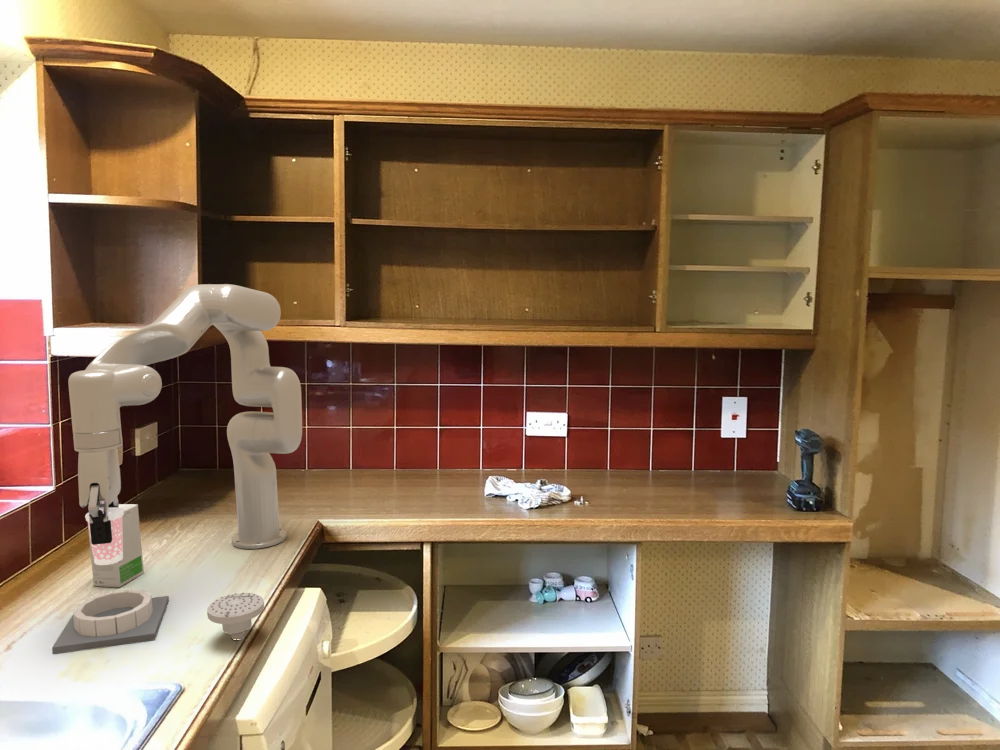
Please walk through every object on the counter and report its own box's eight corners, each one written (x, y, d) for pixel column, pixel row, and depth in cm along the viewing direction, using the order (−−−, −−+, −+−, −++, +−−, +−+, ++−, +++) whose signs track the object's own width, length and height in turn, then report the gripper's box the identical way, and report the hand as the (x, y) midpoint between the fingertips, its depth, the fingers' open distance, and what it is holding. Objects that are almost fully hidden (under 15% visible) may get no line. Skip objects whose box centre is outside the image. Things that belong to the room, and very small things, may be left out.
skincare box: (118, 588, 150) (112, 516, 148) (90, 586, 151) (83, 514, 149) (145, 572, 158) (139, 503, 156) (118, 570, 159) (112, 502, 157)
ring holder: (78, 612, 139) (76, 592, 139) (169, 601, 144) (167, 581, 143) (52, 654, 124) (50, 630, 123) (155, 639, 128) (153, 617, 128)
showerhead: (196, 613, 122) (217, 588, 132) (199, 654, 123) (220, 625, 133) (253, 612, 123) (269, 586, 132) (255, 652, 124) (272, 624, 133)
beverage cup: (95, 555, 134) (88, 482, 132) (131, 552, 136) (125, 479, 134) (84, 568, 128) (77, 491, 126) (122, 564, 130) (115, 488, 128)
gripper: (87, 431, 136) (95, 523, 139) (59, 452, 120) (69, 556, 122) (131, 428, 138) (138, 519, 141) (110, 448, 122) (119, 551, 124)
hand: (106, 535), depth 131 cm, fingers closed on beverage cup, 6 cm apart
